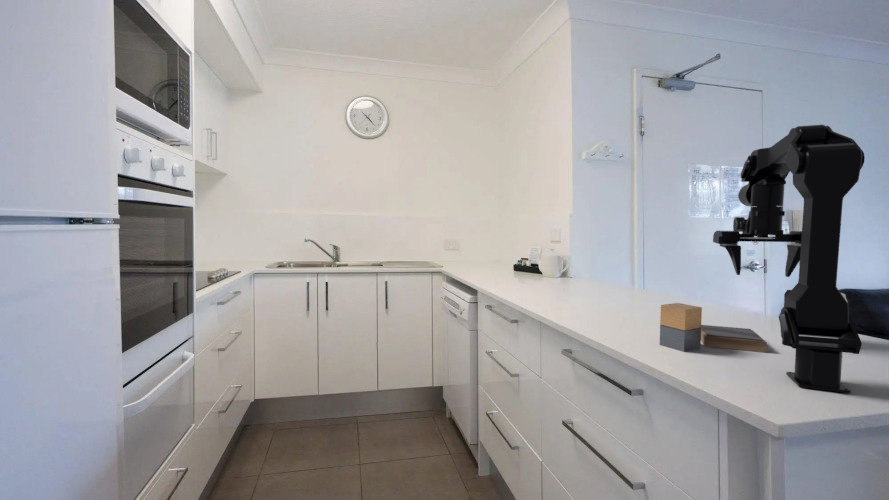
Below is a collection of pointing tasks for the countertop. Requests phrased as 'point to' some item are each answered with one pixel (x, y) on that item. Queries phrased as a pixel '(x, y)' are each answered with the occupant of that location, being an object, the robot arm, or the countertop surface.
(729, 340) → the walnut stand
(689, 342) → the tan and grey block
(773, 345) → the countertop surface
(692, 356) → the countertop surface
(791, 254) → the robot arm
